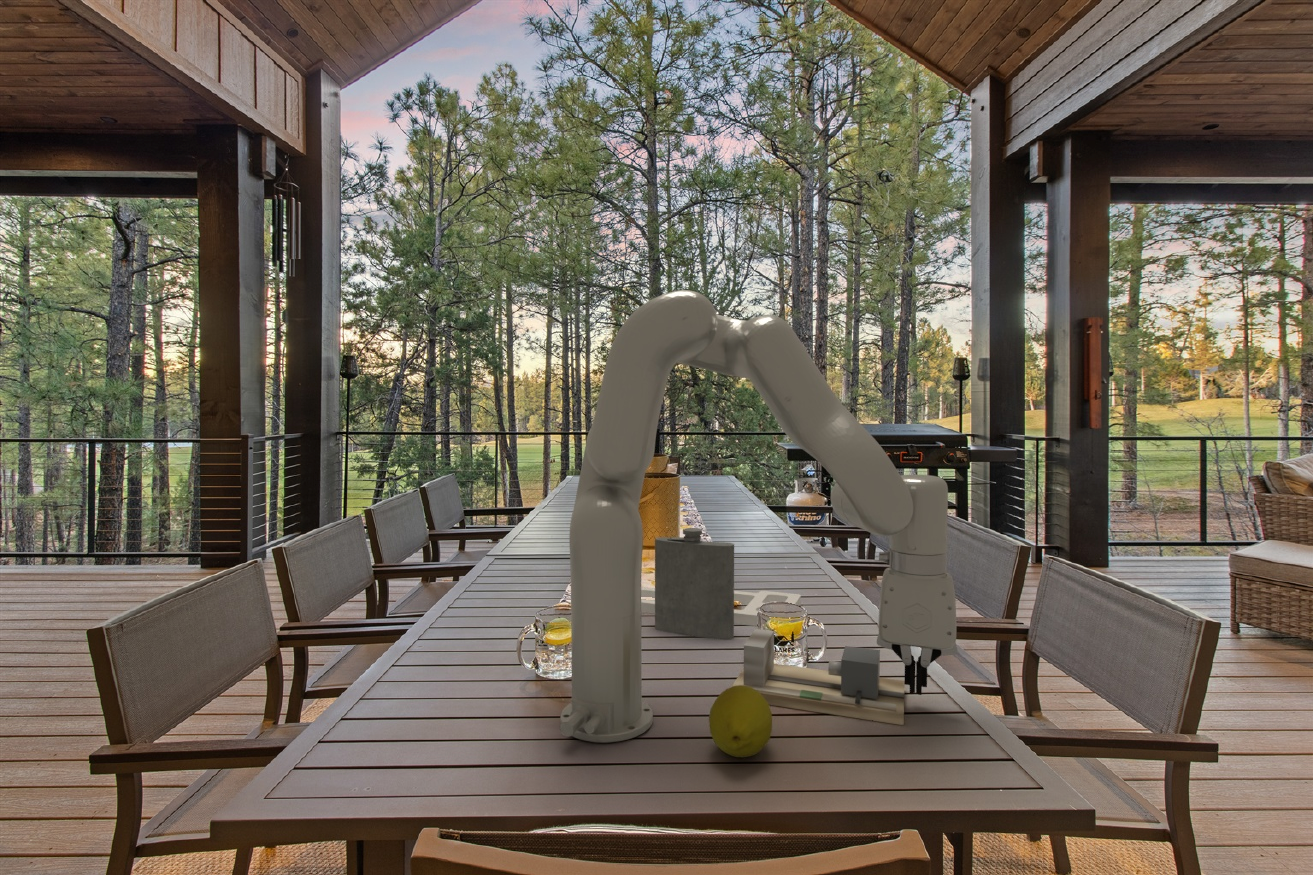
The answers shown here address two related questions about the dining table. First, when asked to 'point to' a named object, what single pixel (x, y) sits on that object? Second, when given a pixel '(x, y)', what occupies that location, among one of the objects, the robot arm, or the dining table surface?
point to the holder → (747, 598)
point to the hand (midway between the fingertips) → (915, 690)
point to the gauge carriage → (858, 672)
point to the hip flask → (694, 586)
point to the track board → (813, 686)
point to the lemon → (740, 721)
